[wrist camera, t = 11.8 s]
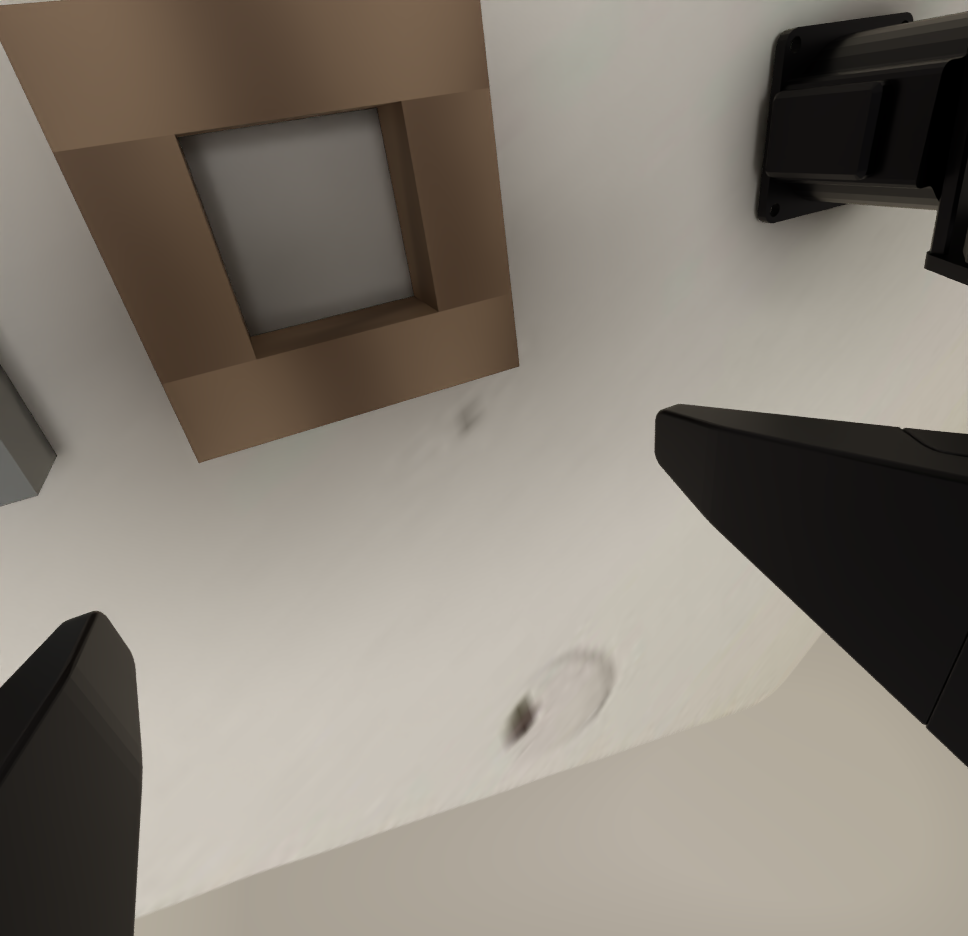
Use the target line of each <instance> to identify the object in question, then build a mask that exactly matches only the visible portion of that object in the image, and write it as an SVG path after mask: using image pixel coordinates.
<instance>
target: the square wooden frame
mask: <svg viewBox="0 0 968 936" xmlns="http://www.w3.org/2000/svg"><path fill="white" fill-rule="evenodd" d="M0 41H1V43H2V46H3V48H4V50H5V52H6V54H7V56H8V58H9V60H10V63H11V65H12V67H13V69H14V71H15V73H16V75H17V77H18V80H19V82H20V84H21V86H22V88H23V90H24V92H25V94H26V97H27V99H28V101H29V103H30V105H31V107H32V109H33V111H34V114H35V116H36V118H37V120H38V122H39V124H40V126H41V128H42V131H43V133H44V135H45V137H46V139H47V141H48V143H49V146H50V148H51V150H52V152H53V154H54V156H55V158H56V160H57V163H58V165H59V167H60V169H61V171H62V173H63V175H64V177H65V180H66V182H67V184H68V186H69V188H70V190H71V192H72V194H73V197H74V199H75V201H76V203H77V205H78V207H79V209H80V211H81V214H82V216H83V218H84V220H85V222H86V224H87V226H88V228H89V231H90V233H91V235H92V237H93V239H94V241H95V243H96V245H97V248H98V250H99V252H100V254H101V256H102V258H103V260H104V262H105V265H106V267H107V269H108V271H109V273H110V275H111V277H112V279H113V282H114V284H115V286H116V288H117V290H118V292H119V294H120V296H121V299H122V301H123V303H124V305H125V307H126V309H127V311H128V314H129V316H130V318H131V320H132V322H133V324H134V326H135V328H136V331H137V333H138V335H139V337H140V339H141V341H142V343H143V345H144V348H145V350H146V352H147V354H148V356H149V358H150V360H151V362H152V365H153V367H154V369H155V371H156V373H157V375H158V377H159V379H160V382H161V384H162V386H163V388H164V390H165V392H166V394H167V396H168V399H169V401H170V403H171V405H172V407H173V409H174V411H175V413H176V416H177V418H178V420H179V422H180V424H181V426H182V428H183V430H184V433H185V435H186V437H187V439H188V441H189V443H190V445H191V447H192V450H193V452H194V454H195V456H196V458H197V460H198V462H199V463H201V462H204V461H207V460H210V459H214V458H217V457H220V456H224V455H227V454H230V453H234V452H237V451H240V450H244V449H247V448H250V447H254V446H257V445H260V444H263V443H267V442H270V441H273V440H277V439H280V438H283V437H287V436H290V435H293V434H297V433H300V432H303V431H307V430H310V429H313V428H316V427H320V426H323V425H326V424H330V423H333V422H336V421H340V420H343V419H346V418H350V417H353V416H356V415H360V414H363V413H366V412H369V411H373V410H376V409H379V408H383V407H386V406H389V405H393V404H396V403H399V402H403V401H406V400H409V399H413V398H416V397H419V396H422V395H426V394H429V393H432V392H436V391H439V390H442V389H446V388H449V387H452V386H456V385H459V384H462V383H465V382H469V381H472V380H475V379H479V378H482V377H485V376H489V375H492V374H495V373H499V372H502V371H505V370H509V369H512V368H515V367H518V366H519V358H518V348H517V339H516V330H515V320H514V311H513V302H512V293H511V283H510V274H509V265H508V255H507V246H506V237H505V228H504V218H503V209H502V200H501V190H500V181H499V172H498V163H497V153H496V144H495V135H494V125H493V116H492V107H491V98H490V88H489V79H488V70H487V60H486V51H485V42H484V33H483V23H482V14H481V5H480V0H61V1H49V2H37V3H24V4H12V5H0ZM370 108H377V110H378V115H379V121H380V126H381V131H382V136H383V141H384V146H385V151H386V156H387V161H388V166H389V171H390V176H391V181H392V186H393V191H394V196H395V201H396V206H397V211H398V216H399V221H400V227H401V232H402V237H403V242H404V247H405V252H406V257H407V262H408V267H409V272H410V277H411V282H412V287H413V292H414V296H412V297H408V298H404V299H400V300H396V301H392V302H388V303H384V304H380V305H376V306H372V307H368V308H364V309H360V310H356V311H352V312H348V313H344V314H340V315H336V316H332V317H328V318H324V319H320V320H316V321H312V322H308V323H304V324H300V325H296V326H292V327H288V328H284V329H280V330H276V331H271V332H267V333H263V334H259V335H255V336H251V337H250V335H249V332H248V329H247V326H246V324H245V321H244V318H243V315H242V313H241V310H240V307H239V304H238V302H237V299H236V296H235V293H234V291H233V288H232V285H231V282H230V280H229V277H228V274H227V271H226V269H225V266H224V263H223V260H222V258H221V255H220V252H219V249H218V247H217V244H216V241H215V238H214V236H213V233H212V230H211V227H210V225H209V222H208V219H207V216H206V214H205V211H204V208H203V205H202V203H201V200H200V197H199V194H198V192H197V189H196V186H195V183H194V181H193V178H192V175H191V172H190V170H189V167H188V164H187V161H186V159H185V156H184V153H183V150H182V148H181V145H180V142H179V139H178V137H182V136H189V135H196V134H202V133H209V132H216V131H223V130H229V129H236V128H243V127H249V126H256V125H263V124H270V123H276V122H283V121H290V120H297V119H303V118H310V117H317V116H323V115H330V114H337V113H344V112H350V111H357V110H364V109H370Z"/></svg>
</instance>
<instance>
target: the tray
mask: <svg viewBox="0 0 968 936" xmlns="http://www.w3.org/2000/svg"><path fill="white" fill-rule="evenodd" d="M56 457H57V455H56V454H55V452H54V450H53V449H52V447H51V446H50V444H49V442H48V441H47V439H46V438H45V436H44V434H43V433H42V431H41V430H40V428H39V426H38V425H37V423H36V421H35V420H34V418H33V417H32V415H31V413H30V412H29V410H28V409H27V407H26V405H25V404H24V402H23V401H22V399H21V397H20V396H19V394H18V392H17V391H16V389H15V388H14V386H13V384H12V383H11V381H10V380H9V378H8V376H7V375H6V373H5V372H4V370H3V368H2V367H1V365H0V506H4V505H7V504H10V503H14V502H17V501H21V500H24V499H27V498H31V497H34V496H38V494H39V492H40V490H41V488H42V486H43V484H44V482H45V480H46V478H47V475H48V473H49V471H50V469H51V467H52V465H53V463H54V461H55V459H56Z"/></svg>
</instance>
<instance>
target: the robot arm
mask: <svg viewBox="0 0 968 936" xmlns="http://www.w3.org/2000/svg"><path fill="white" fill-rule="evenodd" d="M791 41H792V47H791V50H790V45H791ZM845 204H860V205H873V206H887V207H900V208H913V209H927V210H937V216H936V221H935V227H934V232H933V237H932V243H931V248H930V251H928V252H927V254H926V259H925V265H924V268H925V269H927V270H930V271H932V272H935V273H938V274H940V275H943V276H945V277H947V278H950V279H952V280H955V281H958V282H960V283H963V284H966V285H968V11H967V12H962V13H956V14H951V15H946V16H940V17H935V18H930V19H924V20H919V21H914V22H913V17H912V15H911V13H908V12H905V13H898V14H891V15H883V16H876V17H869V18H862V19H854V20H847V21H840V22H833V23H825V24H818V25H811V26H803V27H797V28H792V29H788V30H786V31H784V32H783V33H782V34H781V35H780V37H779V39H778V42H777V46H776V53H775V62H774V71H773V80H772V89H771V98H770V107H769V116H768V125H767V134H766V143H765V152H764V161H763V170H762V179H761V188H760V197H759V205H758V218H759V220H760V221H761V222H766V223H776V222H779V221H783V220H787V219H791V218H795V217H799V216H802V215H806V214H810V213H814V212H818V211H822V210H826V209H829V208H833V207H837V206H841V205H845ZM771 207H772V210H771ZM770 210H771V212H770ZM655 456H656V459H657V461H658V463H659V464H660V466H661V467H662V468H663V469H664V470H665V472H666V473H667V474H668V475H669V476H670V477H671V479H672V480H673V481H674V482H675V483H676V484H677V486H678V487H679V488H680V489H681V490H682V491H683V493H684V494H685V495H686V496H687V497H688V498H689V500H690V501H691V502H692V503H693V504H694V505H695V506H696V508H697V509H698V510H699V511H700V512H701V513H702V515H703V516H704V517H705V518H706V519H707V520H708V521H709V522H710V523H711V524H712V525H713V526H714V527H715V528H716V529H717V530H718V531H719V532H720V533H721V534H722V535H723V536H724V537H725V538H726V539H727V540H728V541H729V542H730V543H732V544H733V545H734V546H735V547H736V548H737V549H738V550H739V551H740V552H741V553H742V554H743V555H744V556H745V557H746V558H747V559H748V560H749V561H751V562H752V563H753V564H754V565H755V566H756V567H757V568H758V569H759V570H760V571H761V572H762V573H763V574H764V575H765V576H766V577H767V578H769V579H770V580H771V581H772V582H773V583H774V584H775V585H776V586H777V587H778V588H779V589H780V590H781V591H782V592H783V593H784V594H785V595H787V596H788V597H789V598H790V599H791V600H792V601H793V602H794V603H795V604H796V605H797V606H798V607H799V608H800V609H801V610H802V611H803V612H805V613H806V614H807V615H808V616H809V617H810V618H811V619H812V620H813V621H814V622H815V623H816V624H817V625H818V626H819V627H820V628H821V629H822V630H824V631H825V632H826V633H827V634H828V635H829V636H830V637H831V638H832V639H833V640H834V641H835V642H836V643H837V644H838V645H839V646H841V647H842V648H843V649H844V650H845V651H846V652H847V653H848V654H849V655H850V656H851V657H852V658H853V659H855V661H856V662H857V663H858V664H860V665H861V666H862V667H863V668H864V669H865V670H866V671H867V672H868V673H869V674H870V675H871V676H872V677H873V678H874V679H875V680H876V681H878V682H879V683H880V684H881V685H882V686H883V687H884V688H885V689H886V690H887V691H888V692H889V693H890V694H891V695H892V696H893V697H894V698H895V699H897V700H898V701H899V702H900V703H901V704H902V705H903V706H904V707H905V708H906V709H907V710H908V711H909V712H910V713H911V714H912V715H913V716H915V717H916V718H917V719H918V720H919V721H920V722H921V723H922V724H924V725H926V728H927V729H928V730H929V731H930V732H931V733H932V734H933V735H934V736H935V737H936V738H937V739H938V740H939V741H940V742H941V743H943V744H944V745H945V746H946V747H947V748H948V749H949V750H950V751H951V752H952V753H953V754H954V755H955V756H956V757H957V758H958V759H960V760H961V761H962V762H963V763H964V764H965V765H966V766H967V767H968V434H962V433H951V432H941V431H931V430H921V429H912V428H904V429H901V428H899V427H892V426H883V425H874V424H864V423H855V422H845V421H836V420H827V419H817V418H808V417H799V416H789V415H780V414H770V413H761V412H752V411H742V410H733V409H723V408H714V407H705V406H695V405H686V404H677V405H673V406H671V407H668V408H665V409H662V410H660V411H659V412H658V413H657V416H656V419H655ZM142 769H143V766H142V747H141V734H140V721H139V708H138V695H137V682H136V669H135V663H134V659H133V656H132V654H131V651H130V650H129V648H128V647H127V645H126V644H125V642H124V641H123V639H122V638H121V636H120V635H119V634H118V632H117V631H116V629H115V628H114V626H113V625H112V623H111V622H110V620H109V619H108V618H107V616H106V615H104V614H103V613H102V612H99V611H92V612H89V613H86V614H83V615H81V616H78V617H75V618H72V619H69V620H67V621H65V622H63V623H62V624H61V625H60V626H59V627H58V628H57V629H56V630H55V631H54V632H53V633H52V634H51V635H50V636H49V637H48V639H47V640H46V641H45V642H44V643H43V644H42V645H41V646H40V647H39V648H38V649H37V650H36V651H35V652H34V653H33V654H32V655H31V656H30V657H29V658H28V659H27V660H26V661H25V663H24V664H23V665H22V666H21V667H20V668H19V669H18V670H17V671H16V672H15V673H14V674H13V675H12V676H11V677H10V678H9V679H8V680H7V681H6V682H5V683H4V684H3V685H2V687H1V688H0V936H134V921H135V903H136V885H137V867H138V849H139V832H140V814H141V796H142Z"/></svg>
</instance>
